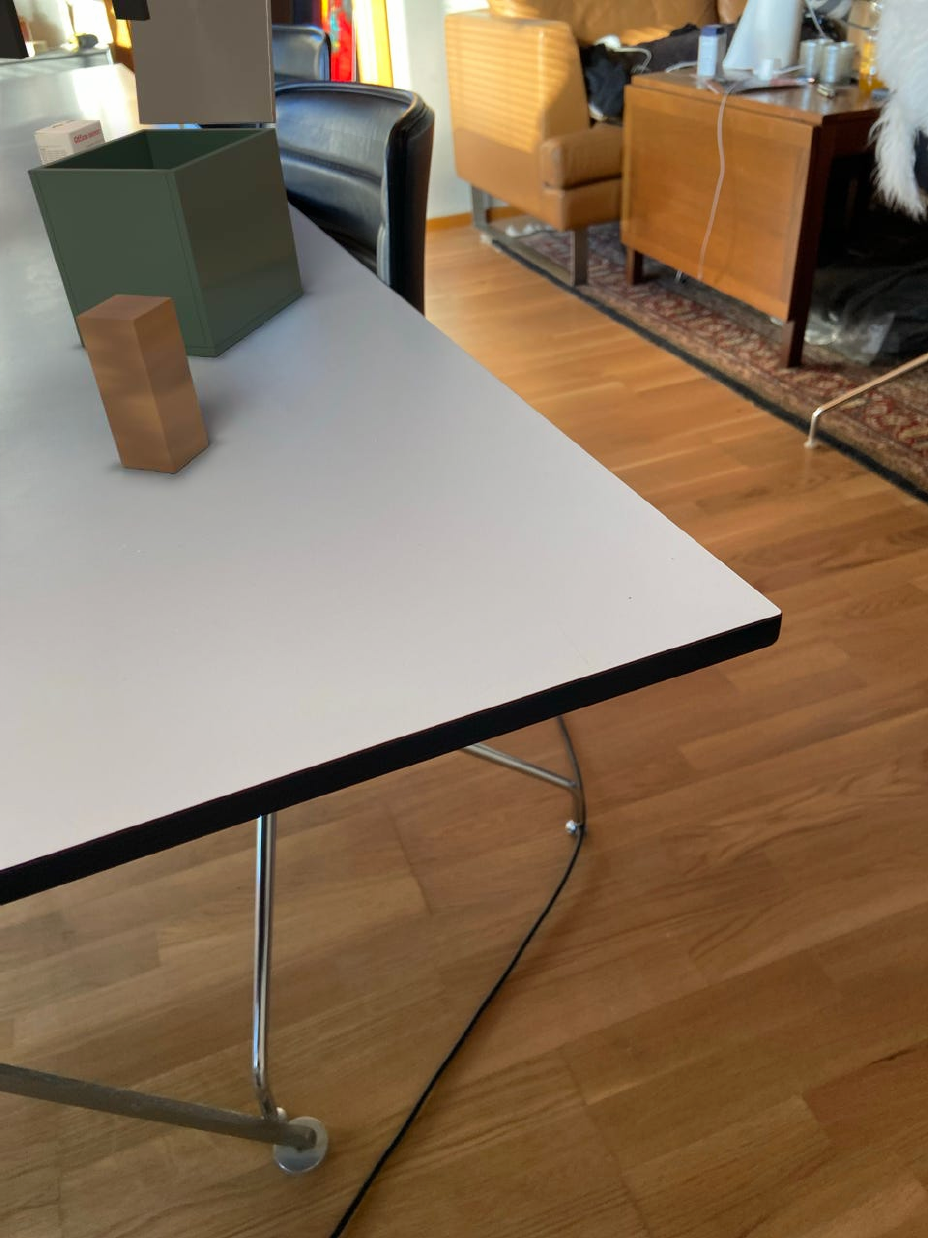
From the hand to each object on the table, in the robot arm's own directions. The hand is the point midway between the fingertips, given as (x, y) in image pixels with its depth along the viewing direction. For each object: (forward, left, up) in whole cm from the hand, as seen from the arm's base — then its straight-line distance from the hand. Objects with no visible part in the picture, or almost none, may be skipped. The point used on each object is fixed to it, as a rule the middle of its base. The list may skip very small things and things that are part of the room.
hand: (75, 37), depth 71 cm
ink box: (-38, +41, -25) cm, 61 cm away
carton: (+11, -15, -25) cm, 31 cm away
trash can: (-3, +11, -25) cm, 27 cm away
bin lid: (-3, +21, -1) cm, 21 cm away
